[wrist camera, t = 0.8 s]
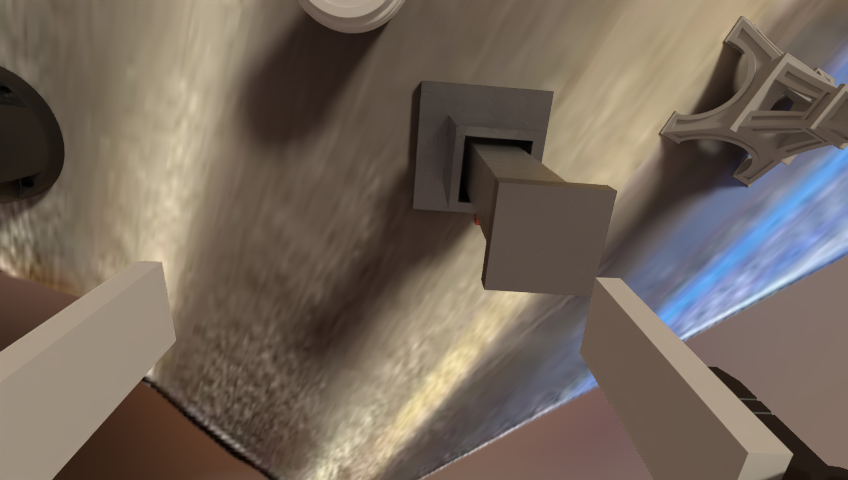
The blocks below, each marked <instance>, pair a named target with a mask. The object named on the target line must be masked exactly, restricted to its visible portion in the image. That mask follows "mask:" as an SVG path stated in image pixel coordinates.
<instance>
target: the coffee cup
mask: <svg viewBox="0 0 848 480" xmlns="http://www.w3.org/2000/svg"><path fill="white" fill-rule="evenodd" d="M297 1H298V2H299V3H300V5H301V6H302V7H303V9H304V10H305V11H306V12H307V13H308V14H309V15H310V16H311V17H312V18H314V19H315V20H316V21H318V22H319V23H321V24H322V25H324V26H326V27H328V28H330V29H333V30H336V31H339V32H344V33H362V32H367V31H370V30H373V29H376V28H378V27H380V26H381V25H383V24H385V23H386V22H387V21H389V20H390V19H391V18H392V17H393V16H394V15H395V14H396V13H397V12H398V11H399V9H400V8H401V6H402V5H403V3H404V2H405V0H297Z"/></svg>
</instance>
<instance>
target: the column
mask: <svg viewBox="0 0 848 480" xmlns="http://www.w3.org/2000/svg"><path fill="white" fill-rule="evenodd" d="M461 179H462V182H463V184H464V187H465V189H466V192H467V194H468V197H469V199H470V202H471V204H472V207H473V209H474V212H475V214H476V217H477V219H478V222H479V224H480V227H481V229H482V232H483V234H484V237H485V239H486V249H485V257H484V264H483V271H482V278H481V281H482V284H483V287H484V290H498V291H514V292H530V293H546V294H561V295H577V296H592V292H593V287H594V283H595V278H596V277H597V273H598V269H599V265H600V261H601V256H602V252H603V248H604V244H605V240H606V236H607V231H608V227H609V223H610V219H611V215H612V211H613V207H614V202H615V198H616V194H617V191H616V190H615V189H613V188H611V187H610V186H608V185H597V184H583V183H569V182H566V181H565V180H563V179H562V178H561V177H559V176H558V175H557V174H555V173H554V172H553V171H551V170H550V169H549V168H547V167H546V166H545V165H543V164H542V163H540V162H539V161H538V160H536V159H535V158H534V157H532V156H531V155H530V154H528V153H527V152H526V151H524V150H523V149H522V148H520V147H519V146H518V145H516V144H515V143H513V142H512V141H511V140H509V139H502V138H489V137H476V136H465V141H464V150H463V159H462V169H461Z"/></svg>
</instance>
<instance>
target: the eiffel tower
mask: <svg viewBox="0 0 848 480" xmlns="http://www.w3.org/2000/svg"><path fill="white" fill-rule="evenodd" d="M761 30H762V29H761V28H759V27H758V26H757V25H755V24H754V23H752V22H751V21H749V20H748V19H746V18H745V17H743V16H741V17H740V19H739V20H738V21H737V23H736V24H735V26H734V27H733V29H732V30H731V31H730V33H729V34H728V36H727V37H726V39H725V40H724V42H725V43H727V44H728V45H730V46H731V47H733V48H734V49H736V50H737V51H739V52H740V53H742V54H746V56H747V59H748V65H749V68H748V74H747V77H746V80H745V82H744V84H743V86H742V87H741V89H740V90H739V91H738V92H737V93H736V95H734V96H733V97H732V98H731V99H730V100H729V101H728V102H726V103H725V104H723V105H721V106H720V107H718V108H716V109H714V110H711V111H708V112H705V113H701V114H695V115H681V114H680V113H678V112H676V111H674V113H673V114H672V116H671V117H670V119H669V120H668V121H667V123H666V124H665V126H664V127H663V129H662V130H661V131H660V133H661V134H662V135H664V136H666V137H667V138H669V139H671V140H672V141H674V142H676V143H677V144H680V142H681V141H685V140H692V139H715V140H722V141H726V142H730V143H733V144H736V145H738V146H740V147H742V148H744V149H745V150H746V151H748V152H749V154H750V155H751V157H752V158H751V157H749V156H746V158H745V159H744V160H743V162H742V163H741V164H740V165H739V167H738V168H737V169H736V171H735V172H734V173H733V174H732V177H734V178H736V179H737V180H739V181H741V182H742V183H744V184H746V185H747V186H751V185H752V184H753V182H754V181H756V180H757V179H758V178H760V177H761V176H762V175H764V174H765V173H767V172H768V171H769V170H771V169H772V168H773V167H775V166H776V165H777V164H779V163H780V162H783V163H784V164H786V165H789V164H790V163H791V161H792V160H793V159H794V158H795V157H796V155H797V154H799V153H802V152H805V151H808V150H812V149H816V148H820V147H824V146H828V145H834V146H835V147H837V148H838V149H843V150H844V149H845V148H846V146H847V145H848V85H847V84H840V85H839V87H837V86H835V85H834V82H835V81H836V80H835V79H834V78H832V77H831V76H829V75H828V74H826V73H825V72H823V71H822V70H821V69H819V68H815V70H814V71H813V70H812V69H810V68H809V67H807V66H806V65H805V64H803V63H802V62H800V61H799V60H797V59H796V58H794V57H793V56H791V55H790V54H788V53H782V52H781V51H780V50H779V49H778V48H777V47H776V46H775V45H774V44H772V43H771V42H770V41H769V40H768V39H767V38H766V37H765V35H764V34H763V33H762V32H761ZM782 94H784V95H786V96H787V97H788V98H790V99H791V100H792V101H793V102H794V103H793V105H792V107H791V109H790V111H770V109H771V108H772V107H773V105H774V104H775V103H776V101H777V100H778V99H779V98H780V96H781V95H782Z"/></svg>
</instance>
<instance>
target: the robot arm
mask: <svg viewBox="0 0 848 480" xmlns="http://www.w3.org/2000/svg"><path fill="white" fill-rule="evenodd" d="M63 160H64V143H63V138H62V134H61V130H60V127H59V125H58V122H57V120H56V118H55V116H54V114H53V113H52V111H51V109H50V108H49V106H48V105H47V103H46V102H45V101H44V99H43V98H42V97H41V96H40V95H39V94H38V93H37V92H36V91H35V90H34V89H33V88H32V87H31V86H30V85H29V84H28V83H27V82H25V81H24V80H23V79H22V78H20V77H19V76H17V75H16V74H14V73H13V72H11V71H9V70H7V69H5V68H3V67H1V66H0V203H9V202H15V201H19V200H22V199H25V198H28V197H31V196H34V195H37V194H39V193H41V192H43V191H45V190H46V189H47V188H49V187H50V186H51V185H52V184H53V183H54V181H55V180H56V179H57V177H58V175H59V173H60V171H61V168H62V165H63ZM175 341H176V337H175V332H174V326H173V321H172V315H171V310H170V304H169V299H168V294H167V288H166V283H165V277H164V272H163V266H162V262H150V261H135V262H133V263H132V264H130V265H129V266H127V267H126V268H124V269H123V270H121V271H120V272H118V273H117V274H115V275H114V276H112V277H111V278H109V279H108V280H106V281H105V282H104V283H102V284H101V285H99V286H98V287H96V288H95V289H93V290H92V291H90V292H89V293H87V294H86V295H84V296H83V297H81V298H80V299H78V300H77V301H75V302H74V303H72V304H71V305H69V306H68V307H66V308H65V309H63V310H62V311H61V312H59V313H58V314H56V315H55V316H53V317H52V318H50V319H49V320H47V321H46V322H44V323H43V324H41V325H40V326H38V327H37V328H35V329H34V330H32V331H31V332H29V333H28V334H26V335H25V336H24V337H22V338H20V339H19V340H17V341H16V342H14V343H13V344H12V345H10V346H9V347H7V348H5V349H3V350H1V351H0V480H52V479H53V478H54V477H55V475H56V474H57V473H58V472H59V471H60V470H61V469H62V468H63V466H64V465H65V464H66V463H67V462H68V461H69V460H70V459H71V457H72V456H73V455H74V454H75V453H76V452H77V451H78V449H80V447H81V446H82V445H83V444H84V443H85V442H86V441H87V440H88V438H89V437H90V436H91V435H92V434H93V433H94V432H95V431H96V430H97V428H98V427H99V426H100V425H101V424H102V423H103V422H104V421H105V419H106V418H107V417H108V416H109V415H110V414H111V413H112V412H113V410H114V409H115V408H116V407H117V406H118V405H119V404H120V403H121V402H122V400H123V399H124V398H125V397H126V396H127V395H128V394H129V393H130V391H131V390H132V389H133V388H134V387H135V386H136V385H137V384H138V383H139V381H140V380H141V379H142V378H143V377H144V376H145V375H146V374H147V372H148V371H149V370H150V369H151V368H152V367H153V366H154V365H155V364H156V362H157V361H158V360H159V359H160V358H161V357H162V356H163V355H164V353H165V352H166V351H167V350H168V349H169V348H170V347H171V346H172V345H173V343H174V342H175ZM580 354H581V355H582V357H583V359H584V361H585V362H586V364H587V366H588V367H589V369H590V371H591V373H592V374H593V376H594V378H595V379H596V381H597V383H598V385H599V386H600V388H601V390H602V391H603V393H604V395H605V397H606V398H607V400H608V402H609V403H610V405H611V407H612V409H613V410H614V412H615V414H616V416H617V417H618V419H619V421H620V422H621V424H622V426H623V428H624V429H625V431H626V433H627V434H628V436H629V438H630V440H631V441H632V443H633V445H634V446H635V448H636V450H637V452H638V453H639V455H640V457H641V458H642V460H643V462H644V463H645V465H646V467H647V469H648V470H649V472H650V474H651V475H652V477H653V479H654V480H848V470H847V469H844V468H841V467H835V466H834V467H833V466H828V465H827V464H825V463H824V462H823V461H822V460H821V459H820V458H819V457H818V456H817V455H816V454H815V453H814V452H813V451H812V450H811V449H810V448H809V447H808V446H807V445H806V444H805V443H804V442H802V441H801V440H800V439H799V438H798V437H797V436H796V435H795V434H794V433H793V432H792V431H791V430H790V429H789V428H788V427H787V426H786V425H785V424H784V423H783V422H781V421H780V420H779V419H778V418H777V417H776V416H775V415H772V414H771V411H770V410H769V409H768V408H767V407H766V406H765V405H764V404H763V403H762V402H761V401H757V398H756V397H755V396H754V395H753V394H752V393H751V392H750V391H749V390H748V389H747V388H746V387H745V386H744V385H743V384H742V383H741V382H740V381H738V380H737V379H735V378H733V377H732V376H730V375H729V374H727V373H726V372H724V371H722V370H721V369H719V368H717V367H707V366H706V365H705V364H704V363H703V362H702V361H701V360H700V359H699V358H698V357H697V356H696V355H695V354H694V353H693V352H692V351H691V350H690V349H689V348H688V347H687V346H686V345H685V344H684V343H683V342H682V341H681V340H680V339H679V338H678V337H677V336H676V335H675V334H674V333H673V332H672V331H671V330H670V329H669V328H668V326H667V325H666V324H665V323H664V322H663V321H662V320H661V319H660V318H659V317H658V316H657V315H656V314H655V313H654V312H653V311H652V310H651V309H650V308H649V307H648V306H647V305H646V304H645V303H644V302H643V301H642V300H641V299H640V298H639V297H638V296H637V295H636V294H635V293H634V292H633V291H632V290H631V289H630V288H629V287H628V286H627V285H626V284H625V283H624V282H623V281H622V280H621V279H620V278H595V283H594V287H593V292H592V297H591V302H590V307H589V311H588V316H587V321H586V326H585V331H584V335H583V340H582V345H581V350H580Z"/></svg>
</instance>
